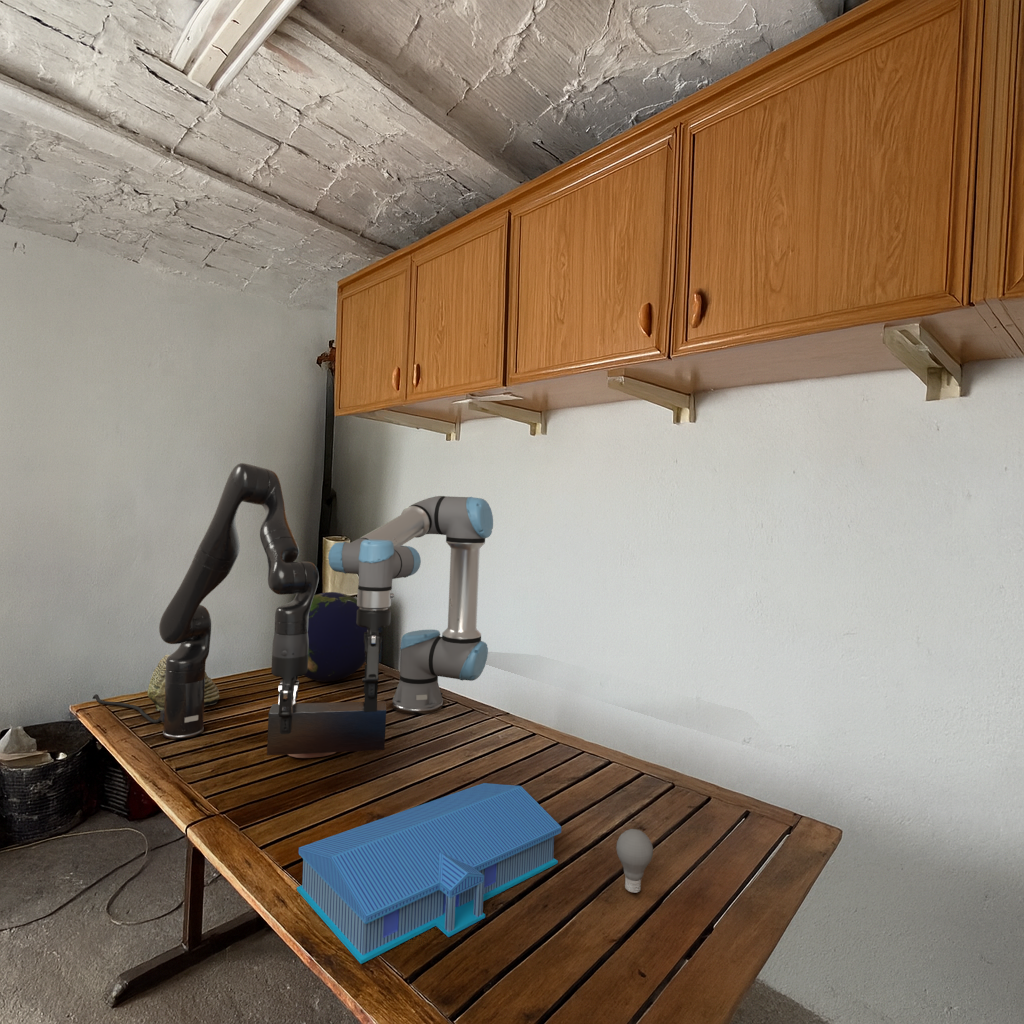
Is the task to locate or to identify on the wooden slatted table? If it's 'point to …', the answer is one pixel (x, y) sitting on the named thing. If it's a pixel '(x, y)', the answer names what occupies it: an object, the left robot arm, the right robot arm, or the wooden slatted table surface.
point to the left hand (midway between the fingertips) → (287, 727)
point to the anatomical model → (310, 755)
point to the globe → (334, 637)
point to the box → (327, 728)
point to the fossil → (158, 687)
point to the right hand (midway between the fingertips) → (369, 701)
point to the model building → (426, 866)
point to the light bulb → (634, 857)
